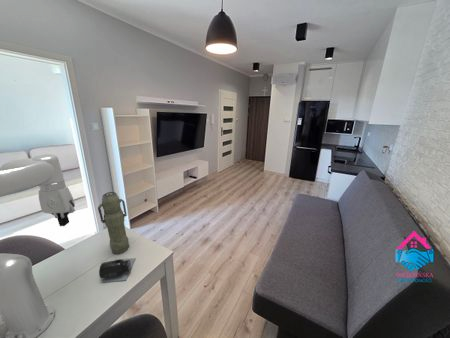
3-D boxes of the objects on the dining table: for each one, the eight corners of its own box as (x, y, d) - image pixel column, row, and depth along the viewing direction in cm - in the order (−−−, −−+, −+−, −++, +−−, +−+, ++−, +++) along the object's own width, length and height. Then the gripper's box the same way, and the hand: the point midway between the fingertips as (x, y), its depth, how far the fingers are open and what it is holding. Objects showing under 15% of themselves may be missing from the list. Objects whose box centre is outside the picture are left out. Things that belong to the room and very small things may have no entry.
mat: (126, 280, 85) (125, 280, 85) (103, 282, 84) (102, 282, 83) (135, 258, 97) (135, 258, 97) (115, 260, 96) (115, 259, 96)
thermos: (106, 249, 102) (93, 194, 91) (129, 240, 110) (119, 187, 99) (110, 259, 96) (97, 201, 85) (134, 247, 104) (124, 193, 93)
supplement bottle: (105, 273, 89) (131, 268, 92) (99, 282, 82) (128, 276, 85) (104, 259, 89) (130, 255, 92) (98, 267, 82) (127, 262, 85)
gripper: (23, 189, 68) (38, 230, 74) (65, 189, 70) (76, 229, 75) (41, 182, 75) (53, 219, 81) (79, 181, 77) (88, 219, 82)
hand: (64, 224), depth 78 cm, fingers closed
